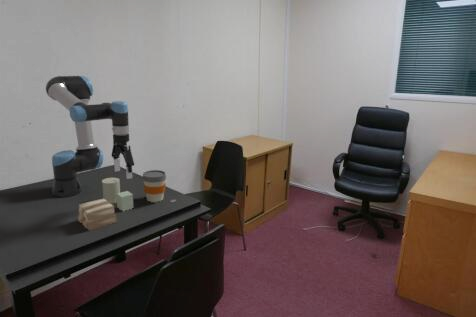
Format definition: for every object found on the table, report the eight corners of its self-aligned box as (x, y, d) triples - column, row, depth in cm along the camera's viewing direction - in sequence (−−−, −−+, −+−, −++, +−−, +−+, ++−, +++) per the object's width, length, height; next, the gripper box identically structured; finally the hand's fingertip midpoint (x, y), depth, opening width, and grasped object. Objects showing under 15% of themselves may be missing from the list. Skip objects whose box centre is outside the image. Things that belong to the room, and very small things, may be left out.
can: (115, 204, 185) (113, 183, 182) (99, 202, 187) (98, 181, 183) (124, 197, 194) (122, 177, 190) (109, 196, 195) (107, 175, 192)
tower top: (79, 213, 165) (78, 204, 164) (104, 206, 173) (103, 198, 171) (88, 222, 156) (87, 213, 155) (114, 215, 164) (113, 206, 163)
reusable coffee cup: (150, 193, 201) (149, 168, 197) (170, 196, 198) (169, 171, 194) (139, 201, 189) (137, 175, 185) (159, 205, 186) (159, 178, 182)
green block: (117, 207, 181) (116, 193, 179) (128, 204, 185) (127, 190, 183) (122, 211, 177) (121, 197, 175) (133, 208, 181) (132, 194, 179)
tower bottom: (78, 221, 166) (77, 213, 165) (105, 214, 175) (104, 205, 173) (88, 231, 157) (88, 223, 156) (116, 223, 166) (115, 215, 164)
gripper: (102, 129, 175) (105, 169, 182) (125, 139, 158) (127, 183, 164) (117, 128, 180) (119, 166, 187) (140, 137, 163) (142, 180, 169)
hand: (123, 174), depth 175 cm, fingers open, 13 cm apart
